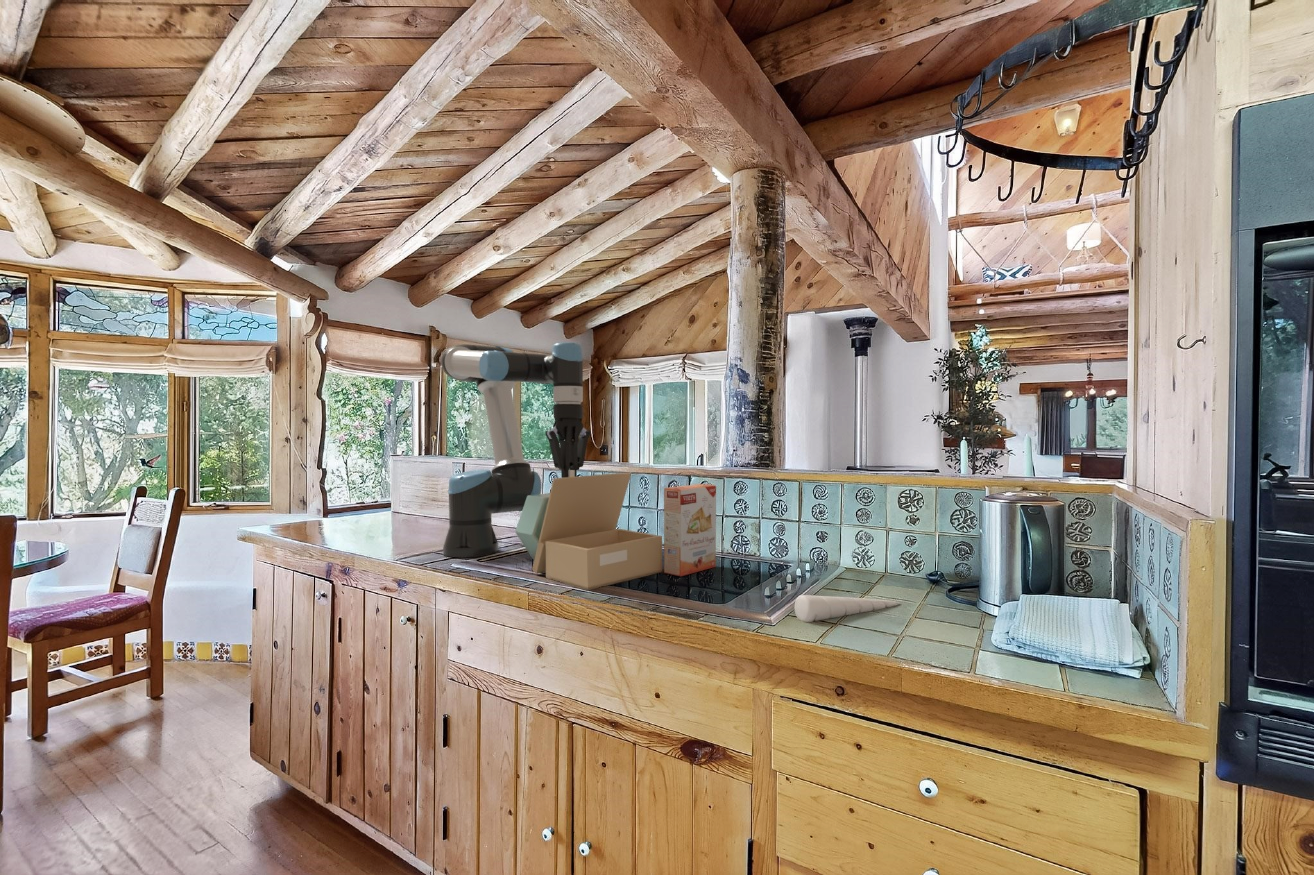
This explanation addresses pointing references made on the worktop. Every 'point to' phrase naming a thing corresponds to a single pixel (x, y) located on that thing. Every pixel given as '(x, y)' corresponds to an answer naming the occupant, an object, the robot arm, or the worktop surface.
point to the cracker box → (689, 529)
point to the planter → (532, 521)
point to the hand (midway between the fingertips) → (569, 495)
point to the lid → (581, 509)
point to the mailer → (603, 558)
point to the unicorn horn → (835, 606)
